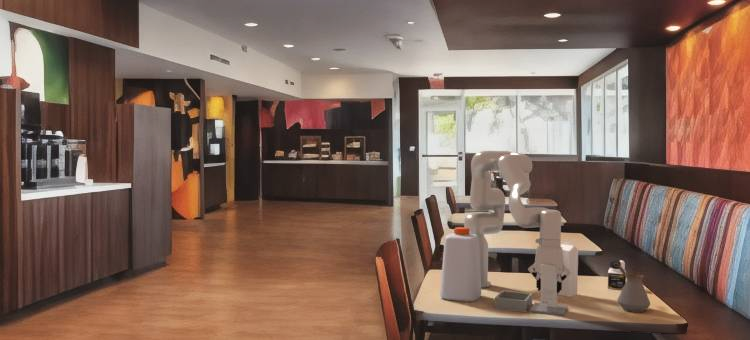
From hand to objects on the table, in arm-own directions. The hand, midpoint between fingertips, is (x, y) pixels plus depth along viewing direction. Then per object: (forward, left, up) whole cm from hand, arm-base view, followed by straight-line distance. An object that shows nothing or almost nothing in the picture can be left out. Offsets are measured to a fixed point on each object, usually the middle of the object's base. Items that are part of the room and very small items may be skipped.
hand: (548, 290), depth 229 cm
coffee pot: (+27, +20, -8) cm, 34 cm away
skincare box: (0, 0, -5) cm, 5 cm away
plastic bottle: (-35, +4, -8) cm, 36 cm away
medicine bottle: (+21, +51, -8) cm, 56 cm away
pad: (0, 0, -7) cm, 7 cm away
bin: (-13, 0, -7) cm, 15 cm away
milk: (+3, +28, -8) cm, 29 cm away
